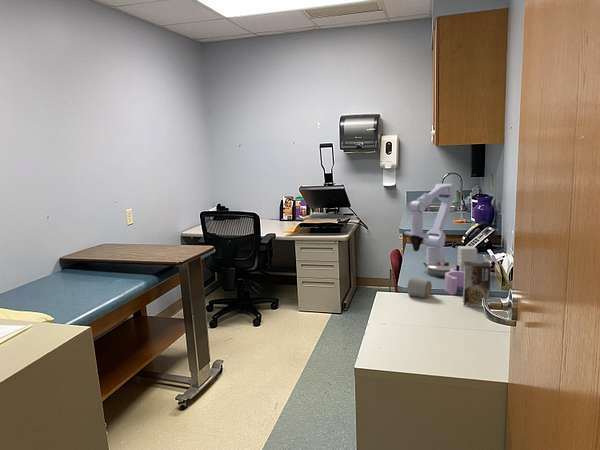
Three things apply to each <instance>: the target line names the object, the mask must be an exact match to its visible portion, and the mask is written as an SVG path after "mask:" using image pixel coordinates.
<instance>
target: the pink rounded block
mask: <svg viewBox="0 0 600 450" xmlns="http://www.w3.org/2000/svg"><path fill="white" fill-rule="evenodd" d="M456 269H457V268H450V272H446V273H445V278H444V290H445V292H447V293H449V294H450V295H452V296H454V295H456V294H457V288H464V268H462V271H456Z"/></svg>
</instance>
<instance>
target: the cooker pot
mask: <svg viewBox="0 0 600 450" xmlns="http://www.w3.org/2000/svg"><path fill="white" fill-rule="evenodd" d="M443 263H444V262H443ZM455 265H456V264H455ZM424 266H425V268H427V275H428V276H430V277H433V278H441V279H445V273H446V272H450V271H439V270H433V269H429V268H428V267H427V264H424ZM456 266H457V269H456V271H459V269H460V266H459V265H456Z"/></svg>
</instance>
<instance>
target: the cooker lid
mask: <svg viewBox="0 0 600 450" xmlns="http://www.w3.org/2000/svg"><path fill="white" fill-rule="evenodd" d="M426 268H427V269H428V268H429V269H433V270H439V271H450V268H457V266H456V264H454V263H450V262H447V261H445V262H444V263H441V262H439V261H438V262H436V263H429V264H427V267H426Z"/></svg>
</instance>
